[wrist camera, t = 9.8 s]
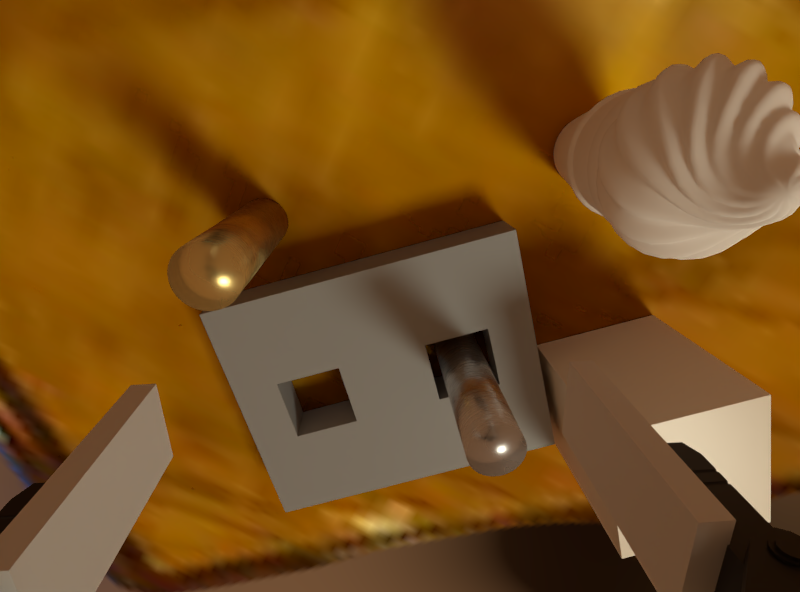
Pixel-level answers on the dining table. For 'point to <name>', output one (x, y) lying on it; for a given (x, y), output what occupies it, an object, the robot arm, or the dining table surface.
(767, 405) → the block
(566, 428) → the robot arm
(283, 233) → the brass pin
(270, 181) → the dining table surface
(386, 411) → the socket board
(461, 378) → the steel pin
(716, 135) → the soft serve ice cream cone
